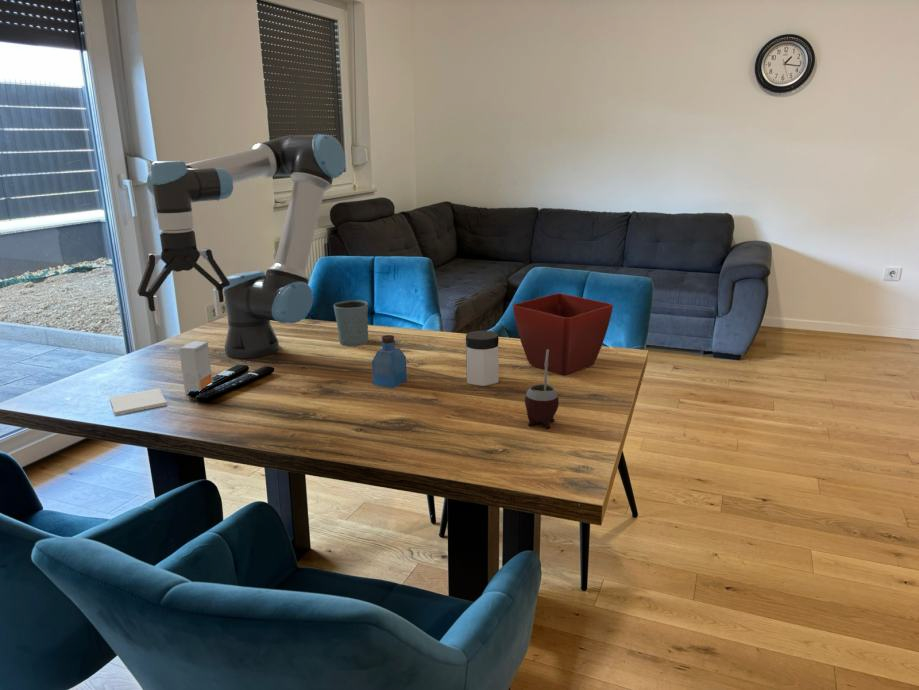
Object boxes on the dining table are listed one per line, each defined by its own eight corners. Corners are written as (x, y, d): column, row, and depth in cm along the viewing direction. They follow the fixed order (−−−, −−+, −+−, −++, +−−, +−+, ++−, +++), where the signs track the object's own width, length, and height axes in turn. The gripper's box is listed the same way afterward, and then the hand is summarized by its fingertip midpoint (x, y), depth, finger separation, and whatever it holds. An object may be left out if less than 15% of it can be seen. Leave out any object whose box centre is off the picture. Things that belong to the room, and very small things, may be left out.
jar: (500, 386, 165) (500, 339, 162) (467, 387, 165) (466, 340, 162) (497, 373, 174) (497, 329, 170) (465, 374, 174) (465, 330, 170)
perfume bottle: (406, 379, 171) (405, 334, 167) (394, 388, 166) (392, 341, 162) (386, 376, 173) (383, 332, 170) (373, 384, 168) (370, 338, 165)
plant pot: (565, 382, 167) (567, 317, 162) (510, 365, 181) (510, 304, 176) (611, 365, 179) (615, 304, 174) (557, 350, 193) (558, 292, 188)
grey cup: (367, 347, 199) (365, 307, 195) (333, 347, 199) (330, 308, 195) (372, 337, 208) (369, 299, 205) (339, 337, 208) (336, 300, 205)
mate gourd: (535, 432, 139) (536, 364, 135) (517, 419, 146) (517, 353, 142) (565, 426, 142) (568, 359, 137) (546, 413, 149) (548, 348, 144)
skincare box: (200, 395, 163) (194, 348, 159) (184, 394, 163) (178, 348, 160) (214, 387, 168) (208, 341, 165) (199, 386, 169) (192, 340, 166)
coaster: (159, 391, 166) (159, 388, 166) (166, 405, 157) (166, 401, 157) (110, 400, 161) (109, 397, 160) (114, 415, 152) (114, 412, 151)
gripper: (228, 224, 163) (238, 309, 170) (115, 233, 151) (130, 324, 157) (236, 227, 157) (246, 315, 163) (118, 236, 145) (134, 331, 151)
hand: (189, 319), depth 160 cm, fingers open, 13 cm apart
